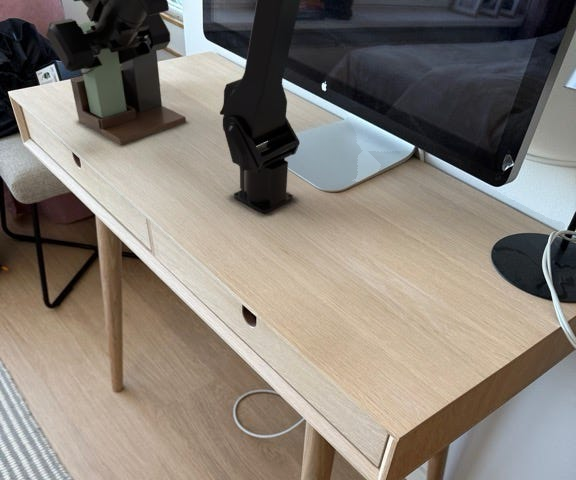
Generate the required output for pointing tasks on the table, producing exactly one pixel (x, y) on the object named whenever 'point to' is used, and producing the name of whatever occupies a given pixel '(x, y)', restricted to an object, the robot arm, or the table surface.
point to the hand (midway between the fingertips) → (96, 67)
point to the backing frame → (131, 103)
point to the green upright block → (105, 83)
